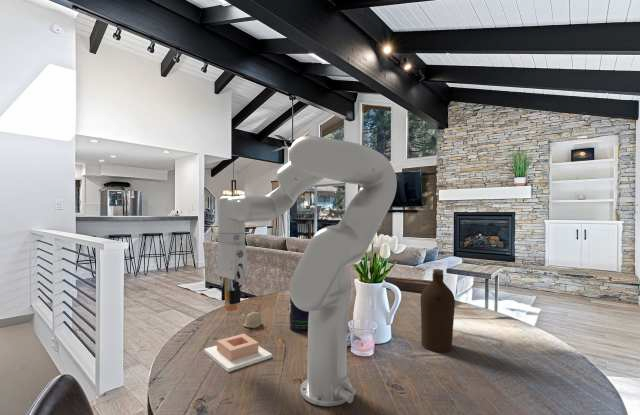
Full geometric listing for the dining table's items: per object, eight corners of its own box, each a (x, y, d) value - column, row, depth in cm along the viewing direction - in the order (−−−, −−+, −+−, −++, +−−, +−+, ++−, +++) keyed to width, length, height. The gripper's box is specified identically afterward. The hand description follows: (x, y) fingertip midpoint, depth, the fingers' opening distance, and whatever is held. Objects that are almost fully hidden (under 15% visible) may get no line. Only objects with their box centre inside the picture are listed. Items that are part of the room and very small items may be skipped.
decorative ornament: (264, 325, 127) (264, 311, 127) (243, 330, 122) (243, 315, 122) (259, 322, 130) (259, 308, 130) (238, 326, 125) (239, 312, 125)
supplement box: (223, 308, 99) (224, 273, 99) (235, 306, 101) (236, 273, 100) (225, 311, 96) (225, 276, 96) (237, 310, 97) (237, 275, 97)
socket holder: (271, 357, 101) (272, 344, 101) (228, 372, 91) (228, 357, 91) (245, 340, 113) (245, 328, 113) (204, 352, 103) (204, 339, 103)
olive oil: (461, 351, 107) (462, 272, 107) (431, 354, 104) (432, 273, 104) (441, 338, 117) (442, 266, 117) (413, 341, 115) (415, 267, 114)
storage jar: (285, 331, 121) (286, 289, 121) (294, 322, 131) (294, 283, 131) (312, 334, 119) (312, 291, 119) (319, 324, 128) (319, 285, 128)
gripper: (258, 240, 95) (257, 305, 95) (229, 235, 107) (228, 293, 107) (234, 242, 90) (233, 311, 90) (206, 237, 102) (205, 298, 102)
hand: (230, 301), depth 98 cm, fingers closed on supplement box, 3 cm apart
